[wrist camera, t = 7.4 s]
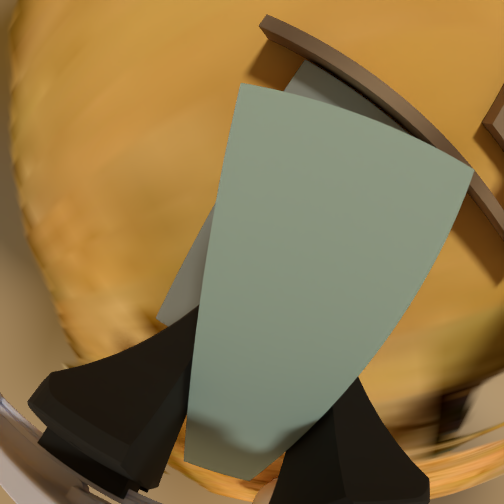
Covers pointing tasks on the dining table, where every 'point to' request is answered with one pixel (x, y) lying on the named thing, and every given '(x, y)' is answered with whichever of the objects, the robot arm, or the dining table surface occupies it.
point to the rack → (393, 104)
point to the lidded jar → (265, 493)
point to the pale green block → (306, 268)
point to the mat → (192, 270)
